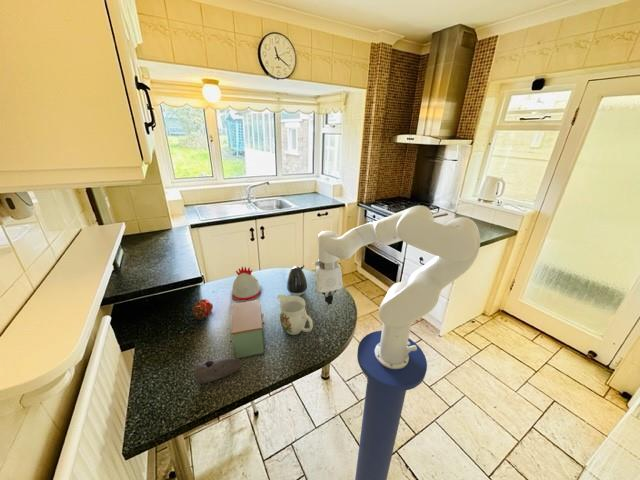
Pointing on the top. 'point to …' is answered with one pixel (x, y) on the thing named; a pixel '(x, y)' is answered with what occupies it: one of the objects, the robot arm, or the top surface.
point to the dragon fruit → (202, 309)
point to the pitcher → (293, 314)
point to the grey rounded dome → (245, 285)
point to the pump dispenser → (296, 281)
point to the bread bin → (247, 328)
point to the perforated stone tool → (216, 369)
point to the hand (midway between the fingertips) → (328, 302)
